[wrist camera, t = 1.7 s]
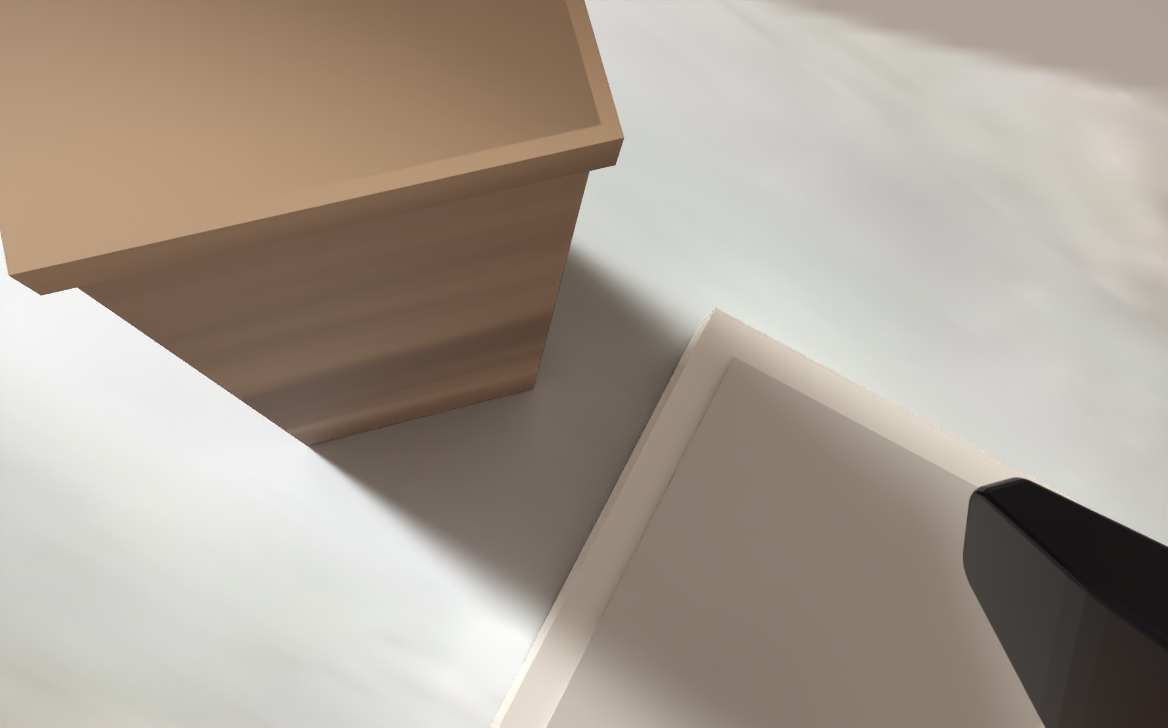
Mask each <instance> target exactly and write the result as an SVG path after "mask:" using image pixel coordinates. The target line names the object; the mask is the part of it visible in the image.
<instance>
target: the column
mask: <svg viewBox="0 0 1168 728" xmlns="http://www.w3.org/2000/svg"><path fill="white" fill-rule="evenodd" d="M623 140H624V136H623V132H622V129H621V125H620V122H619V118H618V115H617V112H616V108H615V105H614V101H613V98H612V94H611V91H610V87H609V84H608V81H607V77H606V74H605V70H604V67H603V63H602V60H601V56H600V53H599V50H598V46H597V43H596V39H595V36H594V32H593V29H592V25H591V22H590V19H589V15H588V12H587V8H586V5H585V1H584V0H0V232H1V237H2V242H3V248H4V253H5V258H6V264H7V269H8V274H9V276H11V277H12V278H14V279H15V280H17V281H19V282H20V283H22V284H24V285H25V286H27V287H28V288H30V289H32V290H33V291H35V292H37V293H38V294H40V295H45V294H49V293H54V292H58V291H63V290H67V289H72V288H76V287H77V288H79V289H80V290H82V291H83V292H85V293H86V294H88V295H89V296H90V297H92V298H93V299H95V300H96V301H98V302H99V303H101V304H102V305H103V306H105V307H106V308H108V309H109V310H111V311H112V312H114V313H115V314H117V315H118V316H119V317H121V318H122V319H124V320H125V321H127V322H128V323H130V324H131V325H133V326H134V327H135V328H137V329H138V330H140V331H141V332H143V333H144V334H146V335H147V336H148V337H150V338H151V339H153V340H154V341H156V342H157V343H159V344H160V345H162V346H163V347H164V348H166V349H167V350H169V351H170V352H172V353H173V354H175V355H176V356H178V357H179V358H180V359H182V360H183V361H185V362H186V363H188V364H189V365H191V366H192V367H193V368H195V369H196V370H198V371H199V372H201V373H202V374H204V375H205V376H207V377H208V378H209V379H211V380H212V381H214V382H215V383H217V384H218V385H220V386H221V387H222V388H224V389H225V390H227V391H228V392H230V393H231V394H233V395H234V396H236V397H237V398H238V399H240V400H241V401H243V402H244V403H246V404H247V405H249V406H250V407H252V408H253V409H254V410H256V411H257V412H259V413H260V414H262V415H263V416H265V417H266V418H267V419H269V420H270V421H272V422H273V423H275V424H276V425H278V426H279V427H281V428H282V429H283V430H285V431H286V432H288V433H289V434H291V435H292V436H294V437H295V438H297V439H298V440H299V441H301V442H302V443H304V444H305V445H307V446H309V445H313V444H317V443H321V442H325V441H329V440H333V439H337V438H341V437H345V436H348V435H352V434H356V433H360V432H364V431H368V430H372V429H376V428H380V427H384V426H388V425H392V424H396V423H400V422H404V421H408V420H412V419H416V418H420V417H424V416H428V415H431V414H435V413H439V412H443V411H447V410H451V409H455V408H459V407H463V406H467V405H471V404H475V403H479V402H483V401H487V400H491V399H495V398H499V397H503V396H507V395H511V394H514V393H518V392H522V391H526V390H530V389H533V388H534V384H535V380H536V376H537V372H538V368H539V364H540V360H541V357H542V353H543V349H544V345H545V341H546V337H547V333H548V329H549V326H550V322H551V318H552V314H553V310H554V306H555V302H556V298H557V295H558V291H559V287H560V283H561V279H562V275H563V271H564V267H565V264H566V260H567V256H568V252H569V248H570V244H571V240H572V236H573V232H574V229H575V225H576V221H577V217H578V213H579V209H580V205H581V201H582V198H583V194H584V190H585V186H586V182H587V178H588V174H589V171H591V170H596V169H600V168H605V167H609V166H613V165H616V162H617V158H618V155H619V152H620V149H621V146H622V143H623Z"/></svg>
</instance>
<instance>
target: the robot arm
mask: <svg viewBox="0 0 1168 728" xmlns="http://www.w3.org/2000/svg"><path fill="white" fill-rule="evenodd" d="M963 566H964V570H965V574H966V577H967V579H968V582H969V584H970V586H971V588H972V590H973V592H974V594H975V596H976V598H977V600H978V602H979V603H980V605H981V607H982V609H983V611H984V613H985V615H986V617H987V619H988V621H989V622H990V624H991V626H992V628H993V630H994V632H995V634H996V636H997V638H998V640H999V642H1000V643H1001V645H1002V647H1003V649H1004V651H1005V653H1006V655H1007V657H1008V659H1009V661H1010V662H1011V664H1012V666H1013V668H1014V670H1015V672H1016V674H1017V676H1018V678H1019V680H1020V682H1021V683H1022V685H1023V687H1024V689H1025V691H1026V693H1027V695H1028V697H1029V699H1030V701H1031V703H1032V704H1033V706H1034V708H1035V710H1036V712H1037V714H1038V716H1039V718H1040V719H1041V721H1042V723H1043V725H1044V727H1045V728H1168V546H1166V545H1163V544H1161V543H1159V542H1157V541H1155V540H1153V539H1151V538H1149V537H1147V536H1145V535H1143V534H1141V533H1139V532H1137V531H1134V530H1132V529H1130V528H1128V527H1126V526H1124V525H1122V524H1120V523H1118V522H1116V521H1114V520H1112V519H1110V518H1107V517H1105V516H1103V515H1101V514H1099V513H1097V512H1095V511H1093V510H1091V509H1089V508H1087V507H1085V506H1083V505H1081V504H1078V503H1076V502H1074V501H1072V500H1070V499H1068V498H1066V497H1064V496H1062V495H1060V494H1058V493H1056V492H1054V491H1052V490H1049V489H1047V488H1045V487H1043V486H1041V485H1039V484H1037V483H1035V482H1033V481H1031V480H1028V479H1025V478H1021V477H1013V478H1008V479H1005V480H1001V481H998V482H994V483H991V484H987V485H984V486H980V487H978V488H976V489H975V490H974V491H973V493H972V494H971V496H970V499H969V505H968V513H967V522H966V530H965V538H964V547H963Z"/></svg>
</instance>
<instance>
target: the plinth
mask: <svg viewBox="0 0 1168 728" xmlns="http://www.w3.org/2000/svg"><path fill="white" fill-rule="evenodd" d="M1013 477H1021V478H1025V479H1028V480H1031V481H1033V482H1035V483H1037V484H1039V485H1041V486H1043V487H1045V488H1047V489H1049V490H1052V491H1054V492H1056V493H1058V494H1060V495H1062V496H1064V497H1066V498H1068V499H1070V500H1072V501H1074V502H1076V503H1078V504H1081V503H1079V502H1077V501H1076V500H1074V499H1072V498H1070V497H1068V496H1066V495H1064V494H1063V493H1061V492H1059V491H1057V490H1055V489H1053V488H1051V487H1049V486H1048V485H1046V484H1044V483H1042V482H1040V481H1038V480H1036V479H1034V478H1033V477H1031V476H1029V475H1027V474H1025V473H1023V472H1021V471H1020V470H1018V469H1016V468H1014V467H1012V466H1010V465H1008V464H1006V463H1005V462H1003V461H1001V460H999V459H997V458H995V457H993V456H992V455H990V454H988V453H986V452H984V451H982V450H980V449H978V448H977V447H975V446H973V445H971V444H969V443H967V442H965V441H964V440H962V439H960V438H958V437H956V436H954V435H952V434H950V433H949V432H947V431H945V430H943V429H941V428H939V427H937V426H935V425H934V424H932V423H930V422H928V421H926V420H924V419H922V418H921V417H919V416H917V415H915V414H913V413H911V412H909V411H907V410H906V409H904V408H902V407H900V406H898V405H896V404H894V403H893V402H891V401H889V400H887V399H885V398H883V397H881V396H879V395H878V394H876V393H874V392H872V391H870V390H868V389H866V388H864V387H863V386H861V385H859V384H857V383H855V382H853V381H851V380H850V379H848V378H846V377H844V376H842V375H840V374H838V373H836V372H835V371H833V370H831V369H829V368H827V367H825V366H823V365H822V364H820V363H818V362H816V361H814V360H812V359H810V358H808V357H807V356H805V355H803V354H801V353H799V352H797V351H795V350H793V349H792V348H790V347H788V346H786V345H784V344H782V343H780V342H779V341H777V340H775V339H773V338H771V337H769V336H767V335H765V334H764V333H762V332H760V331H758V330H756V329H754V328H752V327H751V326H749V325H747V324H745V323H743V322H741V321H739V320H737V319H736V318H734V317H732V316H730V315H728V314H726V313H724V312H722V311H721V310H719V309H717V308H715V309H714V310H713V311H712V312H711V314H710V315H709V316H708V317H707V318H706V319H705V320H704V322H703V323H702V324H701V325H700V326H699V327H698V328H697V330H696V331H695V332H694V334H693V336H692V338H691V340H690V342H689V344H688V346H687V348H686V350H685V352H684V354H683V355H682V357H681V359H680V361H679V363H678V365H677V367H676V369H675V371H674V373H673V375H672V377H671V379H670V381H669V382H668V384H667V386H666V388H665V390H664V392H663V394H662V396H661V398H660V400H659V402H658V404H657V406H656V408H655V409H654V411H653V413H652V415H651V417H650V419H649V421H648V423H647V425H646V427H645V429H644V431H643V433H642V435H641V436H640V438H639V440H638V442H637V444H636V446H635V448H634V450H633V452H632V454H631V456H630V458H629V460H628V462H627V463H626V465H625V467H624V469H623V471H622V473H621V475H620V477H619V479H618V481H617V483H616V485H615V487H614V489H613V490H612V492H611V494H610V496H609V498H608V500H607V502H606V504H605V506H604V508H603V510H602V512H601V514H600V516H599V517H598V519H597V521H596V523H595V525H594V527H593V529H592V531H591V533H590V535H589V537H588V539H587V541H586V543H585V544H584V546H583V548H582V550H581V552H580V554H579V556H578V558H577V560H576V562H575V564H574V566H573V568H572V570H571V571H570V573H569V575H568V577H567V579H566V581H565V583H564V585H563V587H562V589H561V591H560V593H559V595H558V597H557V598H556V600H555V602H554V604H553V606H552V608H551V610H550V612H549V614H548V616H547V618H546V620H545V622H544V624H543V625H542V627H541V629H540V631H539V633H538V635H537V637H536V639H535V641H534V643H533V645H532V647H531V649H530V651H529V652H528V654H527V656H526V658H525V660H524V662H523V664H522V666H521V668H520V670H519V672H518V674H517V676H516V678H515V679H514V681H513V683H512V685H511V687H510V689H509V691H508V693H507V695H506V697H505V699H504V701H503V703H502V705H501V706H500V708H499V710H498V712H497V714H496V716H495V718H494V720H493V722H492V724H491V726H490V728H1045V727H1044V725H1043V723H1042V721H1041V719H1040V718H1039V716H1038V714H1037V712H1036V710H1035V708H1034V706H1033V704H1032V703H1031V701H1030V699H1029V697H1028V695H1027V693H1026V691H1025V689H1024V687H1023V685H1022V683H1021V682H1020V680H1019V678H1018V676H1017V674H1016V672H1015V670H1014V668H1013V666H1012V664H1011V662H1010V661H1009V659H1008V657H1007V655H1006V653H1005V651H1004V649H1003V647H1002V645H1001V643H1000V642H999V640H998V638H997V636H996V634H995V632H994V630H993V628H992V626H991V624H990V622H989V621H988V619H987V617H986V615H985V613H984V611H983V609H982V607H981V605H980V603H979V602H978V600H977V598H976V596H975V594H974V592H973V590H972V588H971V586H970V584H969V582H968V579H967V577H966V574H965V570H964V566H963V547H964V538H965V530H966V522H967V513H968V505H969V499H970V496H971V494H972V493H973V491H974V490H975V489H976V488H978V487H980V486H984V485H987V484H991V483H994V482H998V481H1001V480H1005V479H1008V478H1013ZM1081 505H1083V504H1081ZM1083 506H1085V505H1083ZM1085 507H1087V506H1085ZM1087 508H1089V507H1087ZM1089 509H1091V508H1089ZM1091 510H1092V509H1091ZM1093 511H1094V510H1093ZM1095 512H1096V511H1095ZM1097 513H1098V512H1097ZM1099 514H1100V513H1099ZM1101 515H1102V514H1101ZM1103 516H1104V515H1103Z"/></svg>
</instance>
